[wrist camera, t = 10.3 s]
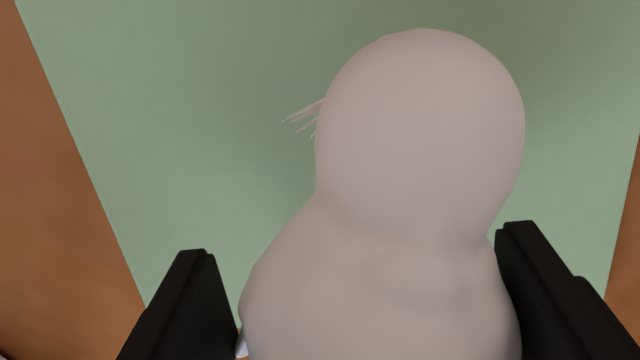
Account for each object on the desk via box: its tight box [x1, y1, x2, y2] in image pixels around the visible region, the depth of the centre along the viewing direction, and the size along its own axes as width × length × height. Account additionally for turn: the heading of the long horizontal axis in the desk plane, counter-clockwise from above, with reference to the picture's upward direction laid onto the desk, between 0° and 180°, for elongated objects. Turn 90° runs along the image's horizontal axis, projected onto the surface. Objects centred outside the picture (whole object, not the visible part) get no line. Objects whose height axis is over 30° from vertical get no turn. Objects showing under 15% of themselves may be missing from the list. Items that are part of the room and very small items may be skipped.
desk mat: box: [14, 0, 640, 328], centre depth 16 cm, size 20×15×1 cm
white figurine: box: [235, 28, 527, 360], centre depth 9 cm, size 6×8×12 cm
